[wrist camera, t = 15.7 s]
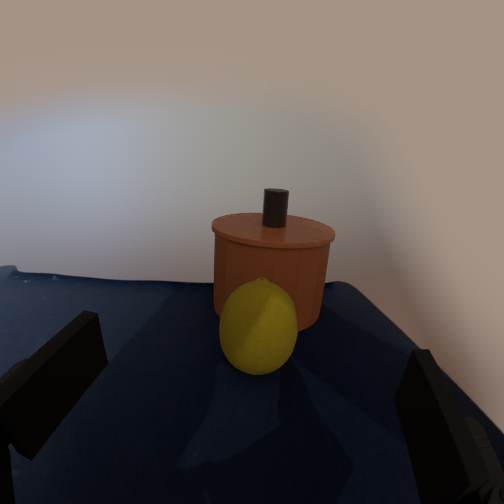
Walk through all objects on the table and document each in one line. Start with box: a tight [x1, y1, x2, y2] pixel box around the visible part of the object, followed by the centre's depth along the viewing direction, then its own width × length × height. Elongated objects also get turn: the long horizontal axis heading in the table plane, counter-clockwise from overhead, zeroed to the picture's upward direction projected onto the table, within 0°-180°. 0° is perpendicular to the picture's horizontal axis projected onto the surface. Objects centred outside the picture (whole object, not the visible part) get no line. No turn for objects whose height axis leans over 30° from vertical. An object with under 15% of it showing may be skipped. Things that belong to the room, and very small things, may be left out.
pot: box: [214, 234, 330, 331], centre depth 33 cm, size 11×11×8 cm
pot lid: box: [212, 189, 335, 249], centre depth 31 cm, size 12×12×5 cm
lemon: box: [219, 278, 298, 375], centre depth 22 cm, size 6×6×8 cm
